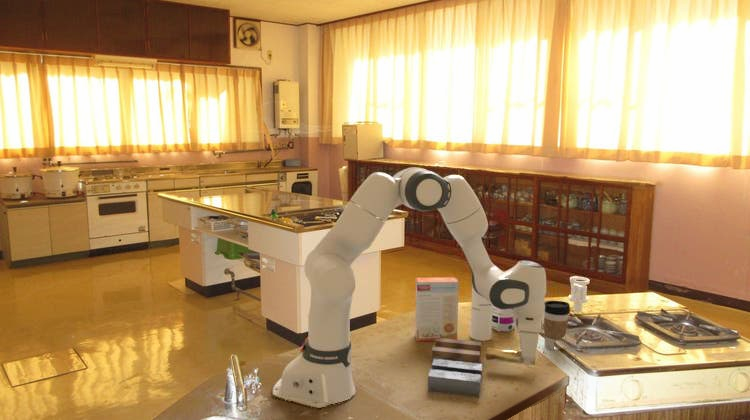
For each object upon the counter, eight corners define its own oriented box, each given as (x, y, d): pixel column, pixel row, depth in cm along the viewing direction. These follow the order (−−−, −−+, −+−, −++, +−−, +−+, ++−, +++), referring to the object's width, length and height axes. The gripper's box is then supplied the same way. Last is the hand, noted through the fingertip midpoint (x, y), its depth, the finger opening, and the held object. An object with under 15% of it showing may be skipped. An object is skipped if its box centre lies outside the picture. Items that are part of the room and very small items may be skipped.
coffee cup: (564, 353, 174) (567, 309, 172) (537, 347, 179) (540, 304, 176) (570, 344, 181) (573, 301, 179) (544, 339, 186) (547, 297, 183)
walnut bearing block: (431, 369, 163) (431, 350, 162) (435, 355, 173) (436, 337, 172) (478, 374, 160) (479, 355, 159) (480, 360, 169) (481, 342, 168)
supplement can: (516, 326, 197) (519, 287, 194) (509, 334, 190) (511, 293, 187) (495, 322, 201) (497, 283, 199) (487, 329, 194) (488, 289, 192)
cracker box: (454, 334, 190) (456, 276, 186) (457, 341, 184) (459, 281, 180) (414, 334, 189) (415, 276, 186) (416, 341, 183) (417, 281, 180)
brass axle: (486, 362, 162) (486, 350, 161) (486, 357, 165) (487, 345, 165) (534, 367, 158) (535, 355, 158) (534, 362, 162) (535, 350, 161)
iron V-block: (427, 391, 150) (428, 375, 149) (433, 372, 160) (433, 358, 160) (479, 397, 146) (480, 382, 146) (481, 378, 157) (482, 363, 156)
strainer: (564, 311, 213) (566, 274, 211) (579, 309, 215) (582, 273, 213) (574, 317, 207) (577, 279, 204) (590, 316, 208) (593, 278, 206)
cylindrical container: (491, 341, 183) (494, 270, 179) (470, 339, 185) (472, 268, 181) (491, 333, 190) (494, 264, 186) (470, 332, 192) (473, 263, 188)
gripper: (517, 303, 169) (515, 345, 171) (517, 327, 149) (515, 374, 152) (538, 305, 168) (535, 347, 170) (541, 329, 148) (538, 377, 150)
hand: (526, 360), depth 161 cm, fingers closed on brass axle, 4 cm apart
